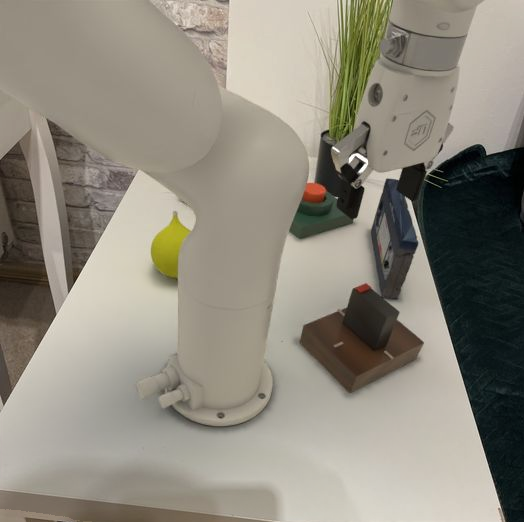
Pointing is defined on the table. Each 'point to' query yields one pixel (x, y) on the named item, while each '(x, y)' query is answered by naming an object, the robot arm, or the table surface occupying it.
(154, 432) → the table surface
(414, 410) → the table surface
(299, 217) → the button box
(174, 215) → the ornament
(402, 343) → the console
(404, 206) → the vhs cassette tape
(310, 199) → the button
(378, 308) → the grey square slab
